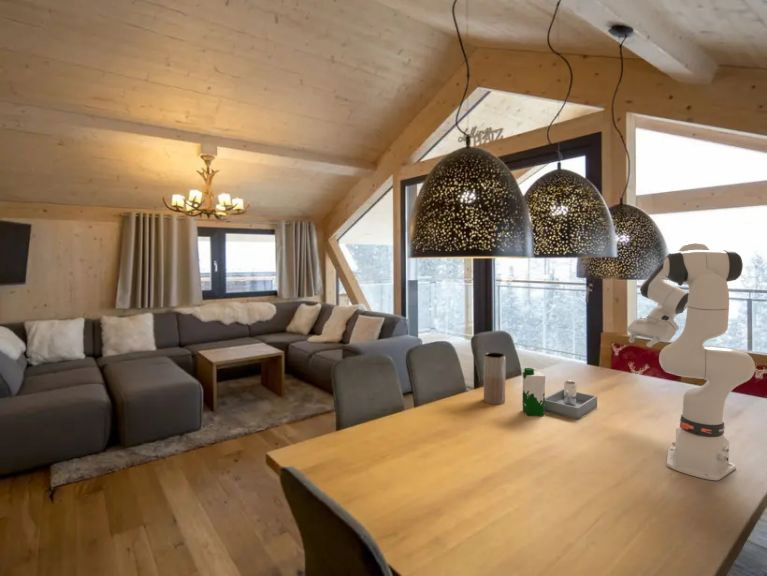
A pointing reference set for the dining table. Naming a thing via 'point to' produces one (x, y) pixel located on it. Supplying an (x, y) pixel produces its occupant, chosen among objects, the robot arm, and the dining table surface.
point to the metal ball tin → (570, 393)
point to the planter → (494, 378)
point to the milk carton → (533, 392)
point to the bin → (557, 406)
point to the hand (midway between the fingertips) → (639, 343)
